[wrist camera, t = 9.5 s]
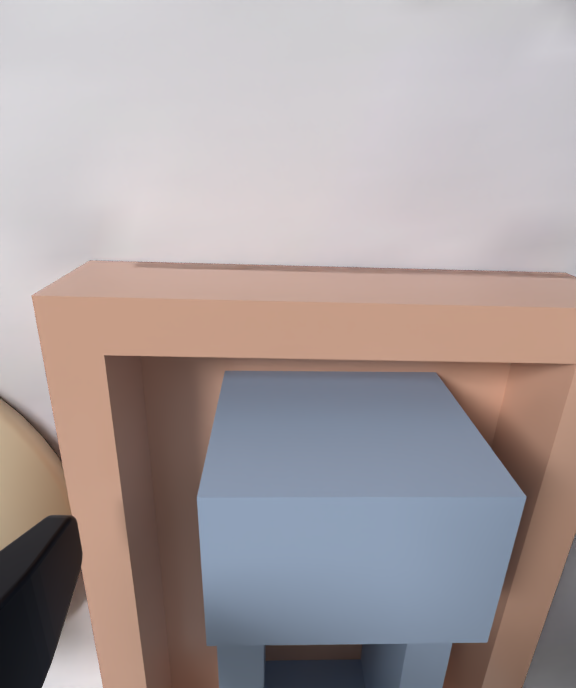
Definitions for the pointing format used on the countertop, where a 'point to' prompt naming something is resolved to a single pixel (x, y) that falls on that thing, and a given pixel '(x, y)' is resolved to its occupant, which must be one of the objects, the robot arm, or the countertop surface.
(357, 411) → the blue open frame block
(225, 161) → the countertop surface
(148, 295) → the tray
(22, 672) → the robot arm
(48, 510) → the pot lid
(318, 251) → the countertop surface
